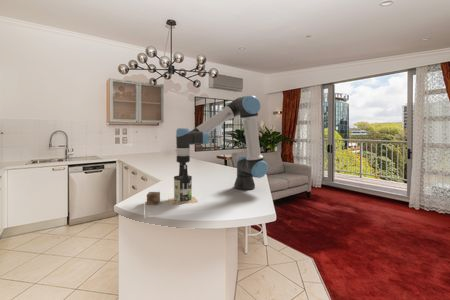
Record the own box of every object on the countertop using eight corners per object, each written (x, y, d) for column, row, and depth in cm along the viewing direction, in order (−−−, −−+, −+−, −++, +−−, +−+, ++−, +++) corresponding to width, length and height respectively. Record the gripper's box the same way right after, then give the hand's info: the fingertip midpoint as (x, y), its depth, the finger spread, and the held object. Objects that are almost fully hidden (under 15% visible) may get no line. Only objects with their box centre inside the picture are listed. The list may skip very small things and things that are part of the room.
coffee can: (194, 198, 142) (194, 175, 141) (188, 203, 132) (188, 179, 131) (178, 197, 144) (178, 174, 143) (170, 202, 134) (170, 177, 133)
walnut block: (160, 202, 136) (159, 191, 135) (158, 205, 130) (157, 194, 129) (149, 202, 135) (149, 191, 135) (146, 205, 129) (146, 194, 129)
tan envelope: (194, 197, 146) (194, 196, 146) (198, 203, 135) (198, 202, 135) (168, 199, 141) (168, 198, 141) (169, 205, 130) (169, 204, 130)
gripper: (174, 153, 146) (174, 186, 148) (179, 158, 123) (179, 197, 125) (186, 152, 148) (186, 185, 150) (193, 157, 125) (193, 196, 127)
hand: (183, 191), depth 137 cm, fingers open, 13 cm apart
